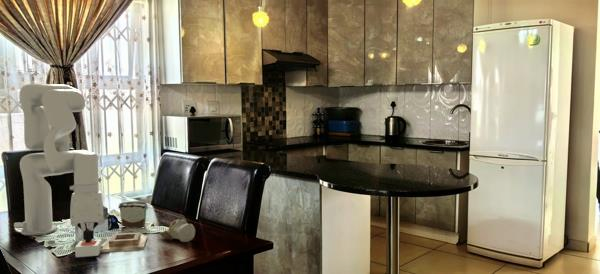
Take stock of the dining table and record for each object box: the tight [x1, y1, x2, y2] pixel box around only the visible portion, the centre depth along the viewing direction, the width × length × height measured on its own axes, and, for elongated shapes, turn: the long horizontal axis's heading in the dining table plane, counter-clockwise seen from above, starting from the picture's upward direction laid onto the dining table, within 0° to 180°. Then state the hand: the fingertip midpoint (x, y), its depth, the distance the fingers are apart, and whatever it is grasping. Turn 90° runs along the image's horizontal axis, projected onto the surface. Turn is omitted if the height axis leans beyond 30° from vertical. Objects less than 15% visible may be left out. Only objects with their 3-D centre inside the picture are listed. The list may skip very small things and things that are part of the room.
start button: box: [82, 239, 96, 246], centre depth 161 cm, size 4×4×2 cm
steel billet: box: [74, 223, 90, 244], centre depth 175 cm, size 4×4×8 cm
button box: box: [74, 239, 103, 258], centre depth 161 cm, size 7×7×4 cm
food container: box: [118, 200, 149, 228], centre depth 196 cm, size 12×6×10 cm, turn 84°
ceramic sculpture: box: [158, 217, 196, 243], centre depth 177 cm, size 11×9×15 cm
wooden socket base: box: [100, 232, 148, 253], centre depth 170 cm, size 14×14×3 cm
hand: (88, 241), depth 161 cm, fingers closed
